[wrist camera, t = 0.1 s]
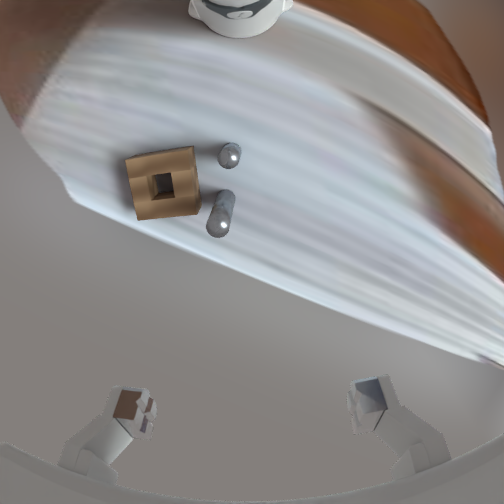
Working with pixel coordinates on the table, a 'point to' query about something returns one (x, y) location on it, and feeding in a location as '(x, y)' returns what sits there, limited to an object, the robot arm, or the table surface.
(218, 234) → the long pin
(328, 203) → the table surface
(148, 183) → the hole block
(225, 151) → the short pin
